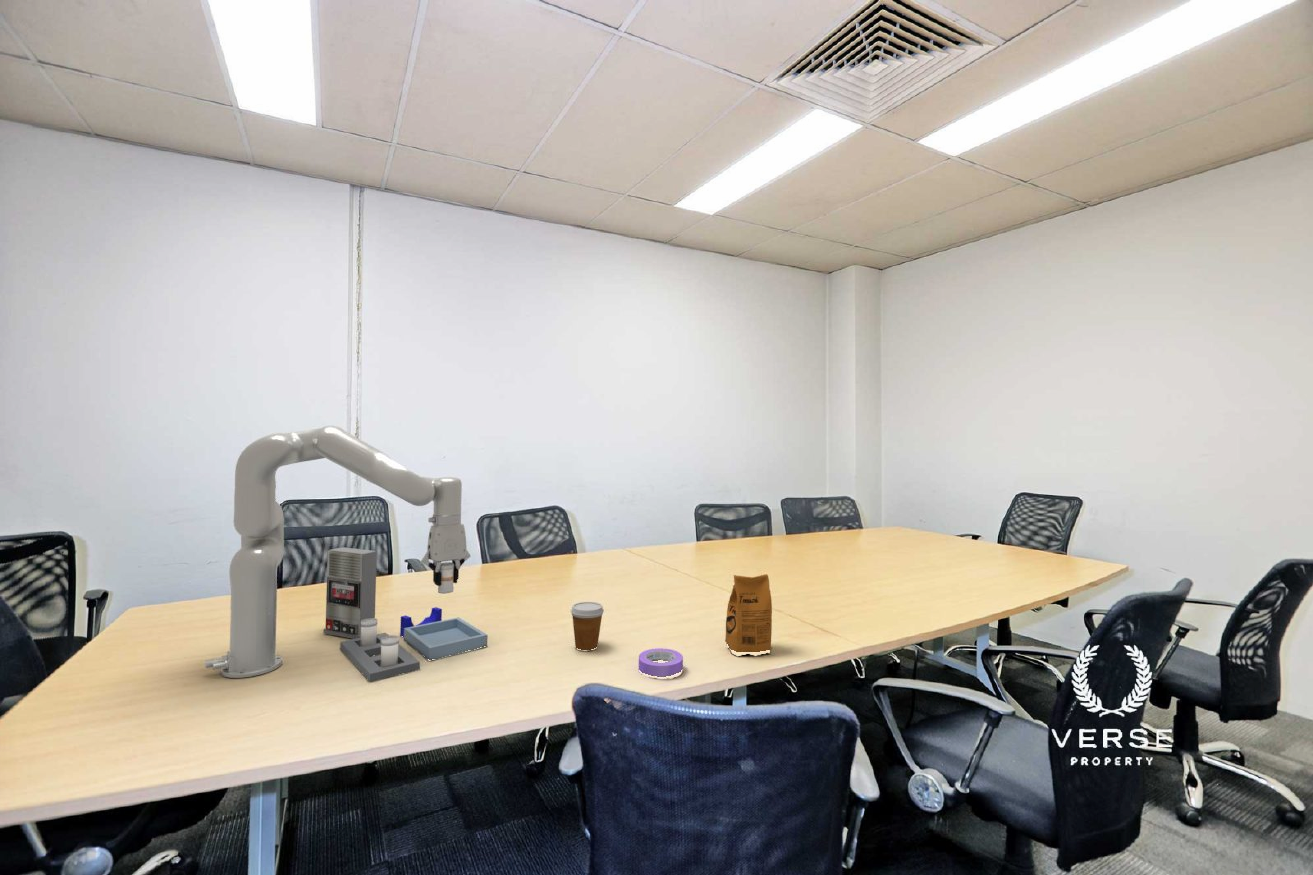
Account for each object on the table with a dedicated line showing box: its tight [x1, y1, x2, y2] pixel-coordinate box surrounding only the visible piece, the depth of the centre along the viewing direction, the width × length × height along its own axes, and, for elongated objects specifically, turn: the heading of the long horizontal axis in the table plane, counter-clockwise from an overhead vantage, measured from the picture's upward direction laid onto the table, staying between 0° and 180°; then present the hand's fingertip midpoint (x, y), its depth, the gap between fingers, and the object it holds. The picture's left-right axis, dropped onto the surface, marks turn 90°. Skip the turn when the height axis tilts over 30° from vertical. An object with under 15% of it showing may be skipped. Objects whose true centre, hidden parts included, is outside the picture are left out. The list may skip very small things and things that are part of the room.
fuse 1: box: [360, 617, 379, 647], centre depth 157 cm, size 4×4×8 cm
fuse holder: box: [339, 632, 421, 683], centre depth 150 cm, size 12×28×2 cm, turn 43°
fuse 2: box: [380, 635, 400, 668], centre depth 143 cm, size 4×4×8 cm
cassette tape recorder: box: [322, 546, 378, 639], centre depth 168 cm, size 14×6×25 cm, turn 71°
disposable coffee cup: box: [570, 601, 605, 650], centre depth 162 cm, size 10×10×12 cm
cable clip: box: [399, 606, 443, 638], centre depth 172 cm, size 12×4×6 cm, turn 147°
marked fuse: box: [437, 561, 455, 595], centre depth 162 cm, size 4×4×8 cm
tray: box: [403, 616, 489, 661], centre depth 162 cm, size 16×20×4 cm
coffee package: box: [724, 573, 773, 652], centre depth 163 cm, size 10×12×22 cm
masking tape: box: [638, 647, 684, 677], centre depth 147 cm, size 12×12×4 cm
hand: (445, 582), depth 162 cm, fingers closed on marked fuse, 4 cm apart
